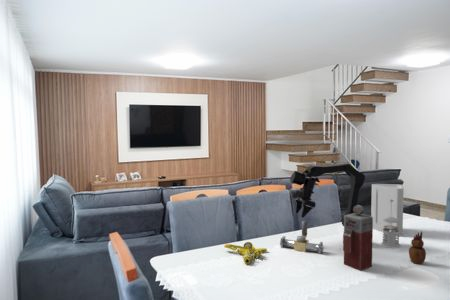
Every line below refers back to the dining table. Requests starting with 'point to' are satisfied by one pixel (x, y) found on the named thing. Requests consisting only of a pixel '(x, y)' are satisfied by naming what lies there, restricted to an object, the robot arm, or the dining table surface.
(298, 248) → the valve body
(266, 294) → the dining table surface
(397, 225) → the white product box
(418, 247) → the wooden figurine
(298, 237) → the lever
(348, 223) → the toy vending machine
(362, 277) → the dining table surface
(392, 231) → the french press
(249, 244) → the yellow toy airplane
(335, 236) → the dining table surface
